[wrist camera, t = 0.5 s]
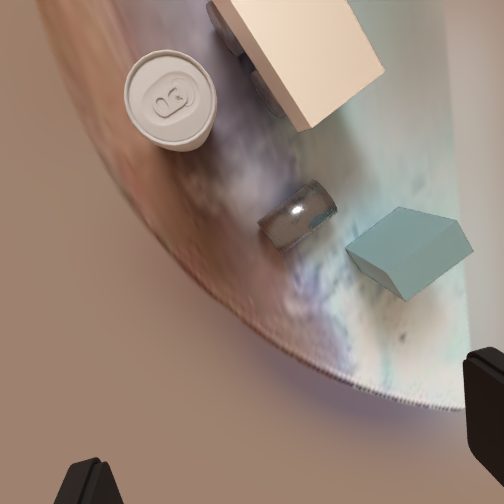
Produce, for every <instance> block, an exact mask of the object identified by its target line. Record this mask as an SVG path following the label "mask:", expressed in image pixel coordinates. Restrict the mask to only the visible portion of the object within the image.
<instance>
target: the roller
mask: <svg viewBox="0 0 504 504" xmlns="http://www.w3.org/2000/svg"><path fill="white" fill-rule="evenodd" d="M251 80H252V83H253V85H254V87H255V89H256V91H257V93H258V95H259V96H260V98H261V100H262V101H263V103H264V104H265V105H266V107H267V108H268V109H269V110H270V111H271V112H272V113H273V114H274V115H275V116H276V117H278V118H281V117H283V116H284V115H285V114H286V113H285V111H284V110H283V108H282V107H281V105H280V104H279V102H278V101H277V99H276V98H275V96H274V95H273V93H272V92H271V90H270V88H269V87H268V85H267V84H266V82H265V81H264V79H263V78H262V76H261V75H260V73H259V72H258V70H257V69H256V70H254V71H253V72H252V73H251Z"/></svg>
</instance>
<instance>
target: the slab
mask: <svg viewBox="0 0 504 504" xmlns="http://www.w3.org/2000/svg"><path fill="white" fill-rule="evenodd" d="M212 1H213V3H214V4H215V6H216V7H217V9H218V10H219V12H220V13H221V15H222V16H223V18H224V19H225V21H226V23H227V24H228V26H229V27H230V29H231V30H232V32H233V33H234V35H235V36H236V38H237V39H238V41H239V42H240V44H241V46H242V47H243V49H244V50H245V52H246V53H247V55H248V56H249V58H250V59H251V61H252V62H253V64H254V65H255V67H256V69H257V70H258V72H259V73H260V75H261V76H262V78H263V79H264V81H265V82H266V84H267V85H268V87H269V88H270V90H271V92H272V93H273V95H274V96H275V98H276V99H277V101H278V102H279V104H280V105H281V107H282V108H283V110H284V111H285V113H286V114H287V116H288V118H289V119H290V121H291V122H292V124H293V125H294V127H295V128H296V130H297V131H298V132H300V131H304V130H307V129H311V128H313V127H314V126H315V125H317V124H318V123H319V122H321V121H322V120H323V119H324V118H326V117H327V116H328V115H330V114H331V113H332V112H334V111H335V110H336V109H337V108H339V107H340V106H341V105H343V104H344V103H345V102H346V101H348V100H349V99H350V98H352V97H353V96H354V95H355V94H357V93H358V92H359V91H361V90H362V89H363V88H365V87H366V86H367V85H368V84H370V83H371V82H372V81H374V80H375V79H376V78H377V77H379V76H380V75H381V74H383V73H384V72H385V70H384V68H383V67H382V65H381V63H380V61H379V59H378V57H377V56H376V54H375V52H374V50H373V48H372V46H371V44H370V43H369V41H368V39H367V37H366V35H365V33H364V32H363V30H362V28H361V26H360V24H359V22H358V21H357V19H356V17H355V15H354V13H353V11H352V9H351V8H350V6H349V4H348V2H347V0H212Z"/></svg>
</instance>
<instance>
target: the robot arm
mask: <svg viewBox="0 0 504 504" xmlns="http://www.w3.org/2000/svg"><path fill="white" fill-rule="evenodd" d="M463 377H464V393H465V408H466V422H467V439H468V445H469V448H470V450H471V452H472V453H473V455H474V456H475V458H476V459H477V460H478V461H479V462H480V463H481V464H482V465H483V466H484V467H485V468H486V469H487V470H488V471H489V472H490V473H491V474H492V475H493V476H494V477H495V478H496V479H497V481H498V482H499V483H500V484H501V485H502V486H503V487H504V353H502V352H500V351H499V350H497V349H496V348H493V347H487V348H483V349H479V350H476V351H472V352H469V353H468V354H467V358H466V360H464V361H463ZM54 504H124V503H123V501H122V498H121V496H120V493H119V490H118V487H117V485H116V482H115V479H114V477H113V474H112V472H111V469H110V466H109V464H108V463H107V462H101V461H100V459H99V458H97V457H96V458H91V459H88V460H85V461H81V462H78V463H74V464H72V465H71V466H70V467H69V469H68V472H67V474H66V476H65V478H64V480H63V483H62V485H61V488H60V490H59V492H58V494H57V497H56V499H55V501H54Z"/></svg>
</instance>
